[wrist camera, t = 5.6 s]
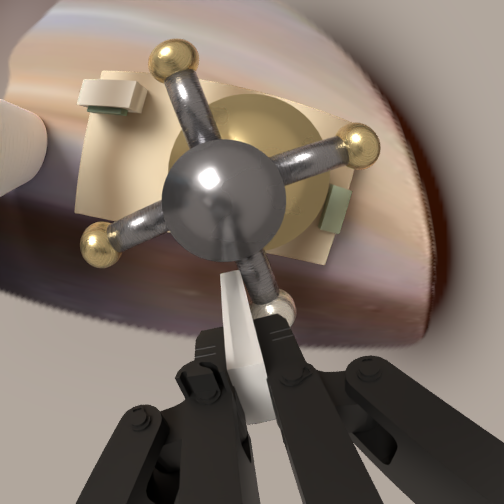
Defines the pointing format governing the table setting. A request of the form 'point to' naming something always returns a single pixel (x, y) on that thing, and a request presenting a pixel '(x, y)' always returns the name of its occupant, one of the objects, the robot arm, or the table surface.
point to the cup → (20, 146)
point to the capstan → (234, 180)
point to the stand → (159, 149)
